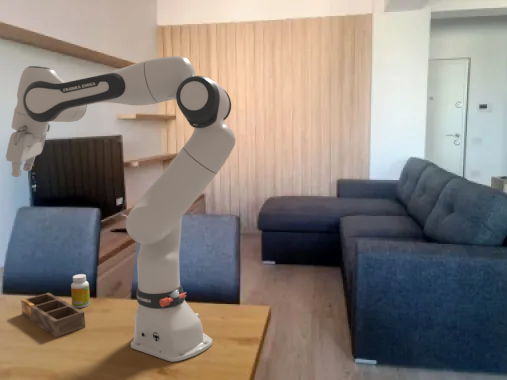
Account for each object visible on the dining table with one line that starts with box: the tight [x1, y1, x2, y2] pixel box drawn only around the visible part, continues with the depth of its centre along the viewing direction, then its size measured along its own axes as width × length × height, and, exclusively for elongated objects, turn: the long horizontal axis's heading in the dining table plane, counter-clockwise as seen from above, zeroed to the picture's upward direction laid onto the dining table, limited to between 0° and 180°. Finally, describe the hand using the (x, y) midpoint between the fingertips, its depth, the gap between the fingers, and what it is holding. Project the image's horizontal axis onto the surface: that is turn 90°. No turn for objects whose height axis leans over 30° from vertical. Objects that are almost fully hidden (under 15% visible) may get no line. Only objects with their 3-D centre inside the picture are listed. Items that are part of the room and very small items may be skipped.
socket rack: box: [20, 292, 86, 338], centre depth 137 cm, size 24×9×5 cm, turn 47°
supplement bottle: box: [70, 273, 91, 309], centre depth 148 cm, size 5×5×10 cm
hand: (21, 173), depth 129 cm, fingers open, 8 cm apart
